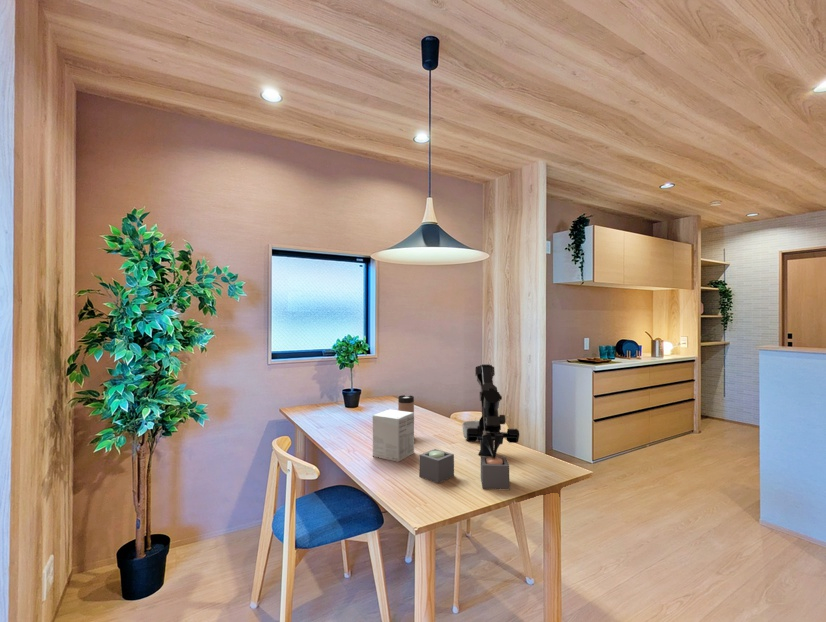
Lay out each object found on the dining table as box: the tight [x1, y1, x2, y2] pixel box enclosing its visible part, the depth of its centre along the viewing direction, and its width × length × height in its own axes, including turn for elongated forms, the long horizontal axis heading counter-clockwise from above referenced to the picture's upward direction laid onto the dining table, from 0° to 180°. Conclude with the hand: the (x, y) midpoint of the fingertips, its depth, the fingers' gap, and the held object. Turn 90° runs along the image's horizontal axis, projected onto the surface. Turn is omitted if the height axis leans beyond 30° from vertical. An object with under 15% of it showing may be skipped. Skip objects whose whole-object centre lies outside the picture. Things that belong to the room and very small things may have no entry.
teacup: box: [461, 419, 480, 442], centre depth 196 cm, size 14×11×8 cm
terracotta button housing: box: [480, 455, 510, 490], centre depth 143 cm, size 9×9×8 cm
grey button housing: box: [418, 448, 455, 484], centre depth 150 cm, size 9×9×8 cm
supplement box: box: [372, 409, 415, 463], centre depth 174 cm, size 13×13×18 cm
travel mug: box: [397, 394, 415, 413], centre depth 197 cm, size 8×8×20 cm
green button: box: [429, 450, 445, 459], centre depth 150 cm, size 6×6×3 cm
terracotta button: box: [486, 456, 503, 465], centre depth 143 cm, size 6×6×3 cm
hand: (494, 457), depth 144 cm, fingers closed
